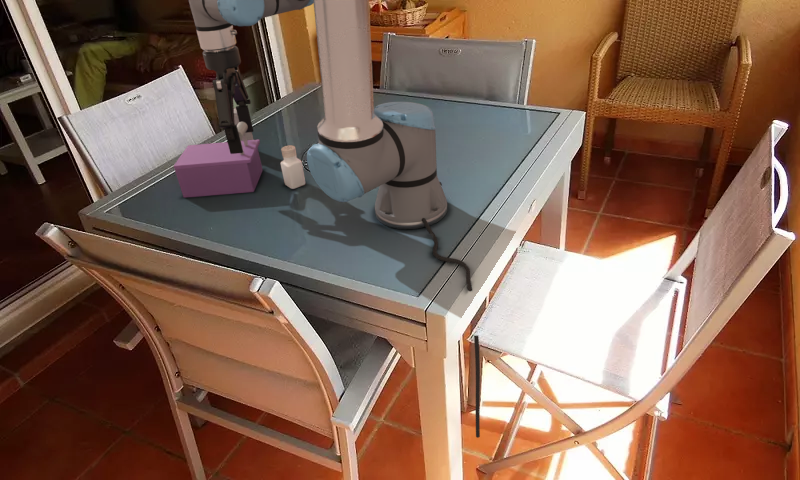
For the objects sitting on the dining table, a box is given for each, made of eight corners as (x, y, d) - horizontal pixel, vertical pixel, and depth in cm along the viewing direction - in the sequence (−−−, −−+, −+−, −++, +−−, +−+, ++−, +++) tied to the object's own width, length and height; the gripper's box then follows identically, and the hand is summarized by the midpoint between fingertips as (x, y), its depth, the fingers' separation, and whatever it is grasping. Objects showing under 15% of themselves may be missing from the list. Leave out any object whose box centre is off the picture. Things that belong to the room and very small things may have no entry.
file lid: (260, 142, 141) (254, 116, 138) (250, 162, 132) (244, 135, 128) (189, 148, 142) (181, 122, 138) (174, 169, 132) (165, 141, 128)
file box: (262, 170, 145) (256, 142, 142) (254, 192, 136) (247, 163, 132) (197, 175, 146) (189, 148, 142) (183, 197, 136) (174, 169, 132)
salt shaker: (292, 190, 135) (284, 153, 129) (283, 185, 137) (276, 148, 132) (306, 184, 137) (300, 147, 131) (298, 179, 139) (291, 143, 134)
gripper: (224, 61, 113) (248, 162, 125) (248, 33, 133) (267, 121, 145) (186, 65, 113) (214, 165, 125) (216, 35, 133) (237, 124, 145)
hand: (242, 142), depth 135 cm, fingers open, 12 cm apart
